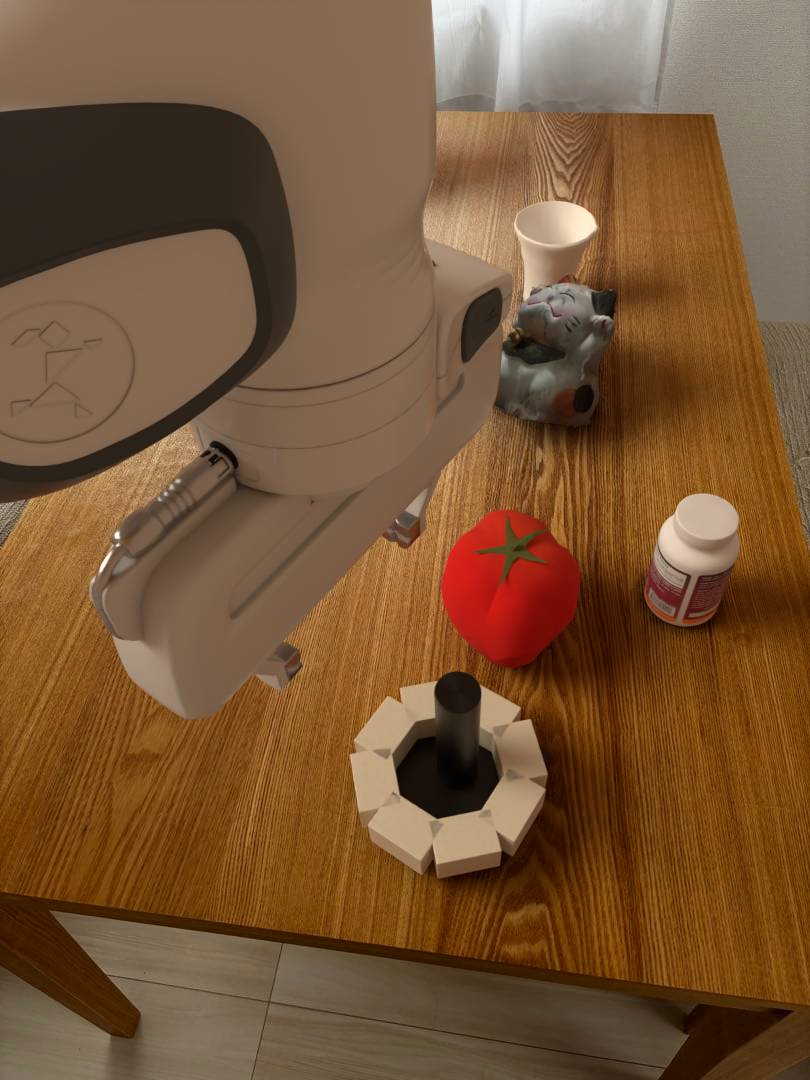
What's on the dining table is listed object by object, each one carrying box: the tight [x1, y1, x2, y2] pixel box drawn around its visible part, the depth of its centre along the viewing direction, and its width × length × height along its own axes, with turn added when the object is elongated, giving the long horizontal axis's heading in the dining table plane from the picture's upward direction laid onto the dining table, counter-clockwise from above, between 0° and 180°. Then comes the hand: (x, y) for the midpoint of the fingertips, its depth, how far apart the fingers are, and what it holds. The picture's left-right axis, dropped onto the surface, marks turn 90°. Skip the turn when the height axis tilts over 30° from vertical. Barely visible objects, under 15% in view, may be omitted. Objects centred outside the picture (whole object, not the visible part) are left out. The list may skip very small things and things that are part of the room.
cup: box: [513, 200, 601, 302], centre depth 97 cm, size 9×9×10 cm
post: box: [396, 670, 550, 819], centre depth 60 cm, size 10×10×13 cm
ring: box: [349, 680, 549, 879], centre depth 62 cm, size 13×13×3 cm
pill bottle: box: [643, 493, 741, 627], centre depth 70 cm, size 6×6×11 cm
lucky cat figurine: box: [493, 273, 618, 427], centre depth 86 cm, size 15×12×14 cm
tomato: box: [440, 508, 582, 670], centre depth 69 cm, size 11×13×10 cm
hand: (344, 599), depth 40 cm, fingers open, 8 cm apart
